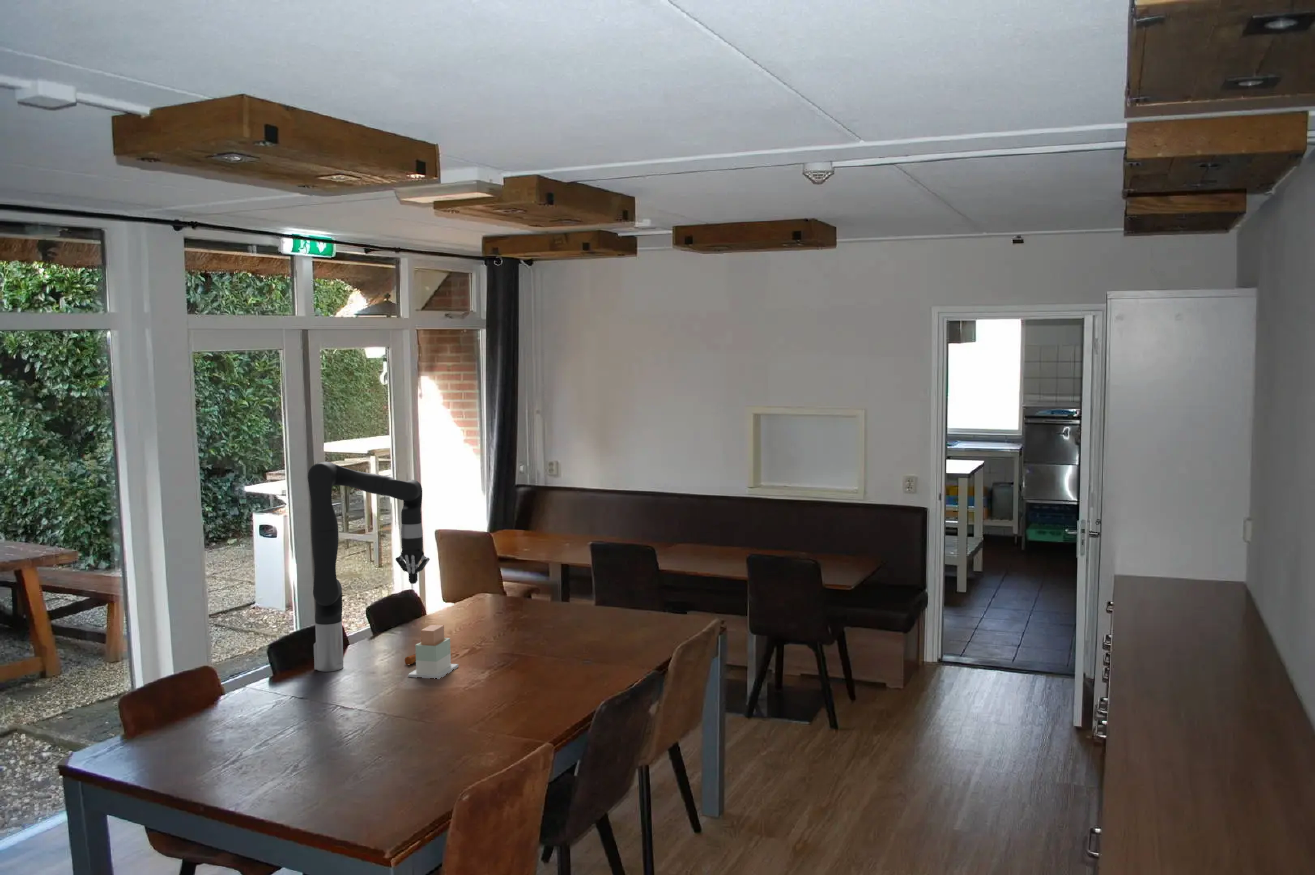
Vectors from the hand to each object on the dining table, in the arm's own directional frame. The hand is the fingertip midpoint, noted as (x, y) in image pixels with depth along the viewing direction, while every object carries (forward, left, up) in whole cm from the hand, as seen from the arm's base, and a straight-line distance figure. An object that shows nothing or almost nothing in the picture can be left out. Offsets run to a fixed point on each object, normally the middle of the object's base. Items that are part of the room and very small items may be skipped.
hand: (413, 583), depth 379 cm
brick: (+9, -3, -21) cm, 23 cm away
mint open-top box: (+9, -3, -31) cm, 32 cm away
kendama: (-2, +12, -31) cm, 34 cm away
